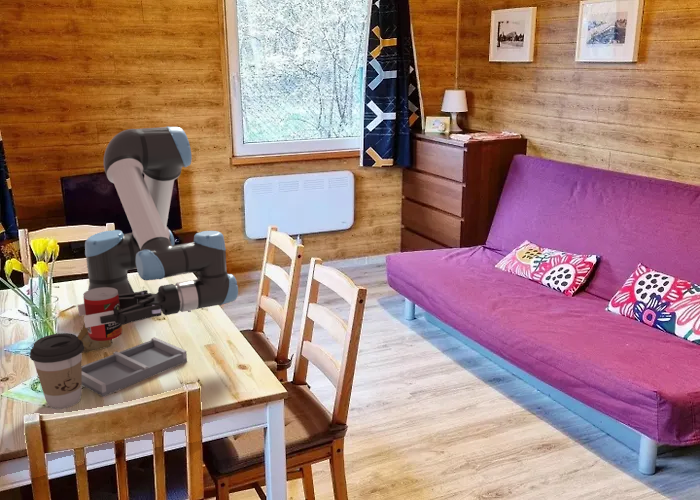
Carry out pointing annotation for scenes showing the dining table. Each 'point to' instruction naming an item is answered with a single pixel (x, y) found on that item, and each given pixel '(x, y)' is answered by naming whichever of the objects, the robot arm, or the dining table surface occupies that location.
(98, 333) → the canned food
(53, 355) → the coffee cup
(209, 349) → the dining table surface
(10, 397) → the dining table surface
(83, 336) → the rock
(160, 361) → the tray
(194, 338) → the dining table surface
